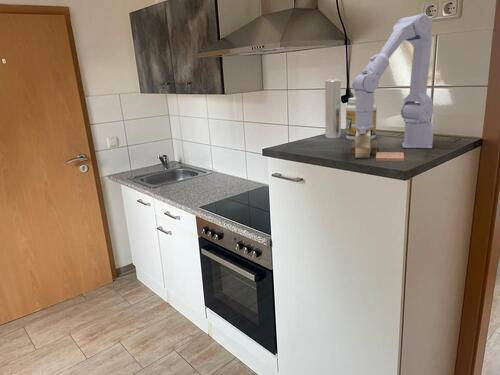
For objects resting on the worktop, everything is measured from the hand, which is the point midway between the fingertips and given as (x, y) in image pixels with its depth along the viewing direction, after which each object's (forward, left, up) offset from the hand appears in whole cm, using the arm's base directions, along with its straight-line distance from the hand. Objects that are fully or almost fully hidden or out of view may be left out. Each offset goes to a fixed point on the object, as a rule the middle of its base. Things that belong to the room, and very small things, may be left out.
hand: (363, 151), depth 132 cm
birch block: (0, +3, 0) cm, 3 cm away
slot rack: (0, -7, -1) cm, 7 cm away
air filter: (+15, -37, -1) cm, 40 cm away
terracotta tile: (-9, +5, -1) cm, 10 cm away
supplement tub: (+3, -33, -1) cm, 33 cm away
